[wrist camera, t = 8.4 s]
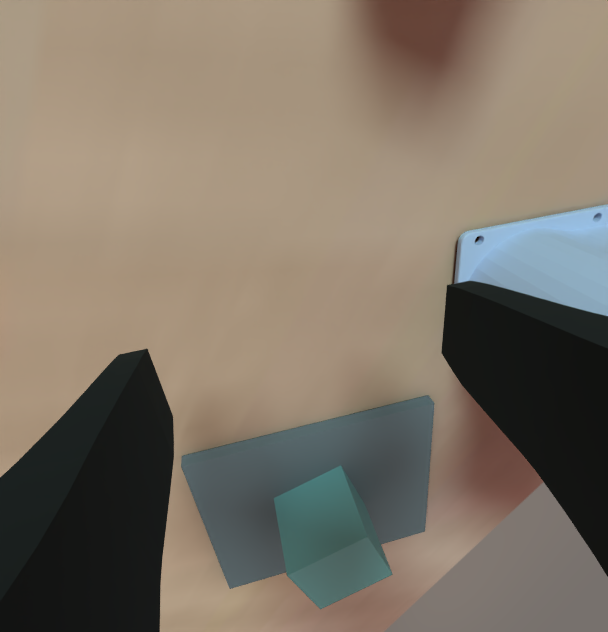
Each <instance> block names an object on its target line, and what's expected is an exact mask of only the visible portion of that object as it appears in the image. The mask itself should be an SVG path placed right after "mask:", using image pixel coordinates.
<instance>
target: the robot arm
mask: <svg viewBox="0 0 608 632" xmlns="http://www.w3.org/2000/svg"><path fill="white" fill-rule="evenodd" d="M594 216H595V217H594ZM478 236H480V238H479V240H478V241H477V242H476V243H475V239H476V238H477V237H478ZM442 354H443V356H444V358H445V359H446V361H447V363H448V364H449V366H450V367H451V369H452V371H453V372H454V374H455V375H456V377H457V378H458V380H459V381H460V383H461V384H462V385H463V386H464V388H465V389H466V390H467V391H468V392H469V394H470V395H471V396H472V397H473V398H474V399H475V401H476V402H477V403H478V404H479V405H480V406H481V408H482V409H483V410H484V411H485V412H486V413H487V415H488V416H489V417H490V418H491V419H492V420H493V421H494V422H495V424H496V425H497V426H498V427H499V428H500V429H501V430H502V432H503V433H504V434H505V435H506V436H507V437H508V438H509V440H510V441H511V442H512V443H513V444H514V445H515V446H516V448H517V449H518V450H519V451H520V452H521V453H522V454H523V456H524V457H525V458H526V459H527V461H528V462H529V463H530V464H531V466H532V467H533V468H534V469H535V470H536V472H537V473H538V474H539V476H540V477H541V479H542V480H543V481H544V483H545V484H546V485H547V487H548V488H549V490H550V491H551V492H552V494H553V495H554V497H555V498H556V500H557V501H558V502H559V504H560V505H561V507H562V508H563V509H564V511H565V512H566V514H567V515H568V517H569V518H570V520H571V521H572V523H573V524H574V526H575V527H576V528H577V530H578V532H579V533H580V535H581V536H582V538H583V539H584V541H585V542H586V544H587V545H588V546H589V548H590V549H591V551H592V552H593V554H594V555H595V557H596V559H597V560H598V562H599V563H600V565H601V567H602V568H603V570H604V571H605V573H606V575H607V576H608V204H607V205H601V206H596V207H591V208H586V209H580V210H575V211H570V212H565V213H559V214H554V215H549V216H544V217H538V218H533V219H528V220H523V221H517V222H512V223H507V224H502V225H496V226H491V227H486V228H481V229H475V230H470V231H466V232H464V233H463V234H462V235H461V236H460V237H459V240H458V247H457V259H456V270H455V281H454V284H451V285H447V293H446V305H445V318H444V330H443V342H442ZM173 459H174V435H173V415H172V413H171V410H170V407H169V405H168V402H167V399H166V397H165V394H164V392H163V389H162V386H161V384H160V381H159V378H158V376H157V373H156V370H155V368H154V365H153V362H152V360H151V357H150V354H149V352H148V349H144V350H139V351H134V352H130V353H125V354H120V355H118V356H117V357H116V358H115V359H114V360H113V361H112V362H111V363H110V364H109V365H108V366H107V368H106V369H105V370H104V371H103V372H102V373H101V374H100V375H99V376H98V378H97V379H96V380H95V381H94V382H93V383H92V384H91V385H90V386H89V388H88V389H87V390H86V391H85V392H84V393H83V394H82V395H81V396H80V398H79V399H78V400H77V401H76V402H75V403H74V404H73V405H72V406H71V407H70V408H69V410H68V411H67V412H66V413H65V414H64V415H63V416H62V417H61V418H60V419H59V420H58V421H57V422H56V423H55V424H54V425H53V426H52V427H51V428H50V429H49V430H48V432H47V433H46V434H45V435H44V436H43V437H42V438H41V439H40V440H39V441H38V442H37V443H36V444H35V445H34V446H33V447H32V448H31V449H30V450H29V451H28V452H27V453H26V454H25V455H24V456H23V457H22V458H21V459H20V460H19V461H18V462H17V463H16V464H14V465H13V466H12V467H11V468H10V469H9V470H8V471H7V472H6V473H5V474H4V475H3V476H2V477H0V632H159V631H160V581H161V567H162V555H163V547H164V538H165V530H166V521H167V513H168V504H169V496H170V487H171V478H172V469H173Z"/></svg>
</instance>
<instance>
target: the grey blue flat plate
mask: <svg viewBox="0 0 608 632" xmlns="http://www.w3.org/2000/svg"><path fill="white" fill-rule="evenodd" d="M433 415H434V402H433V401H432V400H431V398H430V397H429V396H428V395H427V396H423V397H419V398H415V399H411V400H407V401H403V402H399V403H395V404H391V405H387V406H383V407H379V408H375V409H371V410H367V411H363V412H359V413H354V414H350V415H346V416H342V417H338V418H334V419H330V420H326V421H322V422H318V423H314V424H310V425H306V426H302V427H298V428H294V429H290V430H286V431H281V432H277V433H273V434H269V435H265V436H261V437H257V438H253V439H249V440H245V441H241V442H237V443H233V444H229V445H225V446H221V447H217V448H212V449H208V450H204V451H200V452H196V453H192V454H188V455H184V456H182V463H181V467H182V470H183V472H184V475H185V477H186V480H187V482H188V485H189V487H190V490H191V492H192V495H193V497H194V500H195V502H196V505H197V507H198V510H199V513H200V515H201V518H202V520H203V523H204V525H205V528H206V530H207V533H208V535H209V538H210V540H211V543H212V545H213V548H214V550H215V553H216V555H217V558H218V560H219V563H220V565H221V568H222V570H223V573H224V576H225V578H226V581H227V583H228V586H229V588H230V589H231V588H234V587H238V586H241V585H245V584H248V583H251V582H255V581H258V580H262V579H265V578H268V577H272V576H275V575H279V574H282V573H285V572H286V566H285V560H284V555H283V549H282V543H281V538H280V532H279V526H278V521H277V515H276V509H275V503H274V498H275V497H277V496H279V495H281V494H283V493H286V492H288V491H290V490H292V489H294V488H296V487H298V486H300V485H302V484H304V483H306V482H308V481H310V480H312V479H314V478H316V477H318V476H320V475H322V474H324V473H326V472H328V471H330V470H332V469H334V468H336V467H338V466H342V468H343V469H344V471H345V473H346V474H347V476H348V478H349V479H350V481H351V482H352V484H353V486H354V487H355V489H356V491H357V492H358V494H359V495H360V497H361V499H362V500H363V502H364V504H365V506H366V508H367V511H368V513H369V516H370V519H371V521H372V524H373V526H374V529H375V531H376V534H377V536H378V539H379V541H380V544H384V543H387V542H390V541H394V540H397V539H401V538H404V537H407V536H411V535H414V534H418V533H421V532H424V531H425V523H426V510H427V496H428V483H429V469H430V456H431V442H432V428H433Z"/></svg>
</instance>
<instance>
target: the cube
mask: <svg viewBox="0 0 608 632" xmlns="http://www.w3.org/2000/svg"><path fill="white" fill-rule="evenodd" d="M274 503H275V509H276V515H277V521H278V526H279V532H280V538H281V543H282V549H283V555H284V560H285V566H286V572H287V576H288V577H289V578H290V579H291V580H292V581H293V582H294V583H295V584H296V585H297V586H298V587H299V588H300V589H301V590H302V591H303V592H304V593H305V594H306V595H307V596H308V597H309V598H310V599H311V600H312V601H313V602H314V603H315V604H316V605H317V606H318V607H319V608H320V609H322V608H324V607H326V606H328V605H330V604H332V603H335V602H337V601H339V600H341V599H343V598H345V597H347V596H349V595H351V594H353V593H355V592H357V591H359V590H362V589H364V588H366V587H368V586H370V585H372V584H374V583H376V582H378V581H380V580H382V579H384V578H386V577H388V576H391V575H393V574H392V572H391V569H390V567H389V564H388V562H387V559H386V557H385V554H384V552H383V549H382V546H381V544H380V541H379V539H378V536H377V534H376V531H375V529H374V526H373V524H372V521H371V519H370V516H369V513H368V511H367V508H366V506H365V504H364V502H363V500H362V499H361V497H360V495H359V494H358V492H357V491H356V489H355V487H354V486H353V484H352V482H351V481H350V479H349V478H348V476H347V474H346V473H345V471H344V469H343V468H342V466H338V467H336V468H334V469H332V470H330V471H328V472H326V473H324V474H322V475H320V476H318V477H316V478H314V479H312V480H310V481H308V482H306V483H304V484H302V485H300V486H298V487H296V488H294V489H292V490H290V491H288V492H286V493H283V494H281V495H279V496H277V497H275V498H274Z"/></svg>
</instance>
